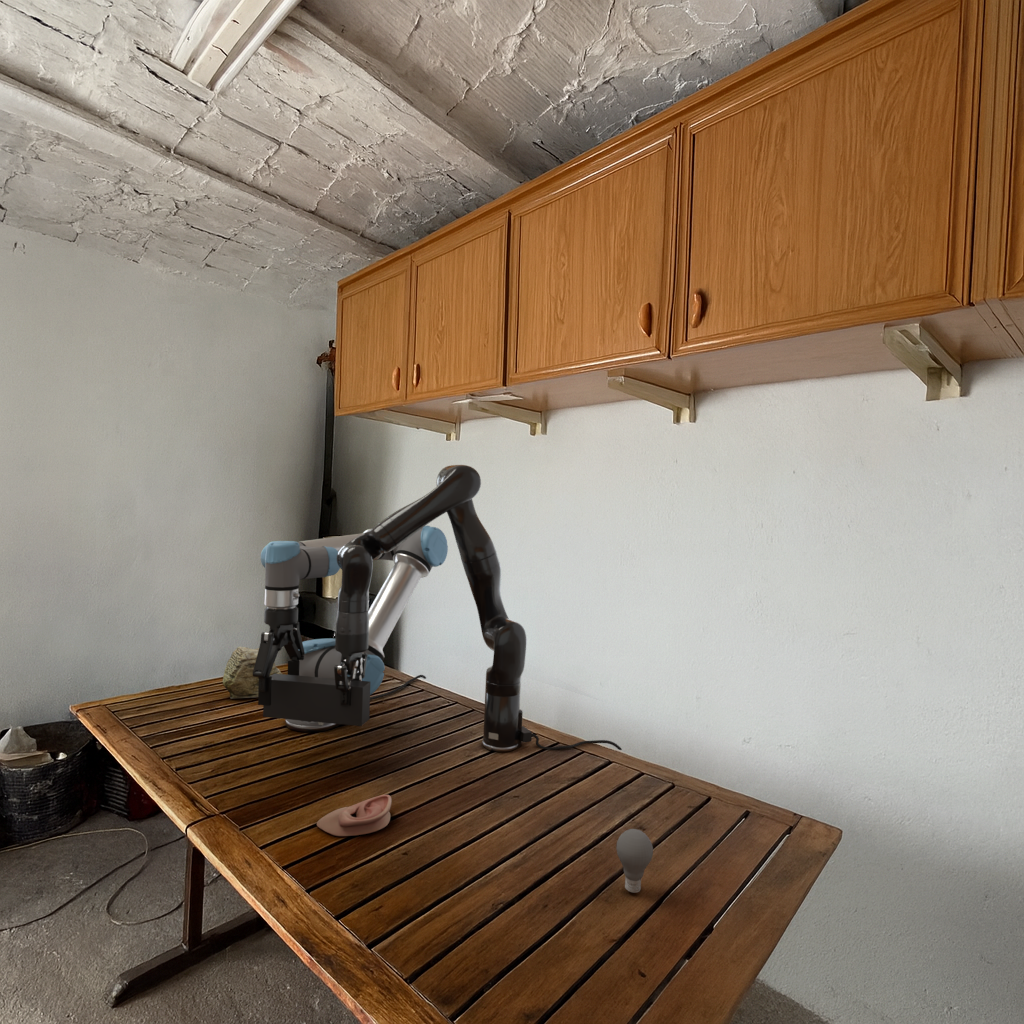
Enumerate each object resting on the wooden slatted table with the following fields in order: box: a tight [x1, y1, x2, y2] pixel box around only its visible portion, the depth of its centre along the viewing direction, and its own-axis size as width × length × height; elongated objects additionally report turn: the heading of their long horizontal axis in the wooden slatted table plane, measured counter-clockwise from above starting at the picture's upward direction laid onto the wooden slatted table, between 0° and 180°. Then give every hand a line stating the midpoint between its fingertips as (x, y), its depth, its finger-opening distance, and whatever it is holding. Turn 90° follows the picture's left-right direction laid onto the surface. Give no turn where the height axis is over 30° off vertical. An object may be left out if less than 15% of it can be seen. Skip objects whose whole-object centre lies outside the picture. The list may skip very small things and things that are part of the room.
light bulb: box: [615, 828, 654, 894], centre depth 106 cm, size 6×6×10 cm
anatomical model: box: [316, 794, 393, 837], centre depth 124 cm, size 13×4×12 cm
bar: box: [262, 673, 371, 727], centre depth 149 cm, size 24×5×9 cm, turn 81°
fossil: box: [222, 646, 283, 699], centre depth 198 cm, size 9×18×15 cm, turn 132°
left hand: (279, 695), depth 150 cm, fingers open, 13 cm apart
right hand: (350, 702), depth 147 cm, fingers closed on bar, 4 cm apart
